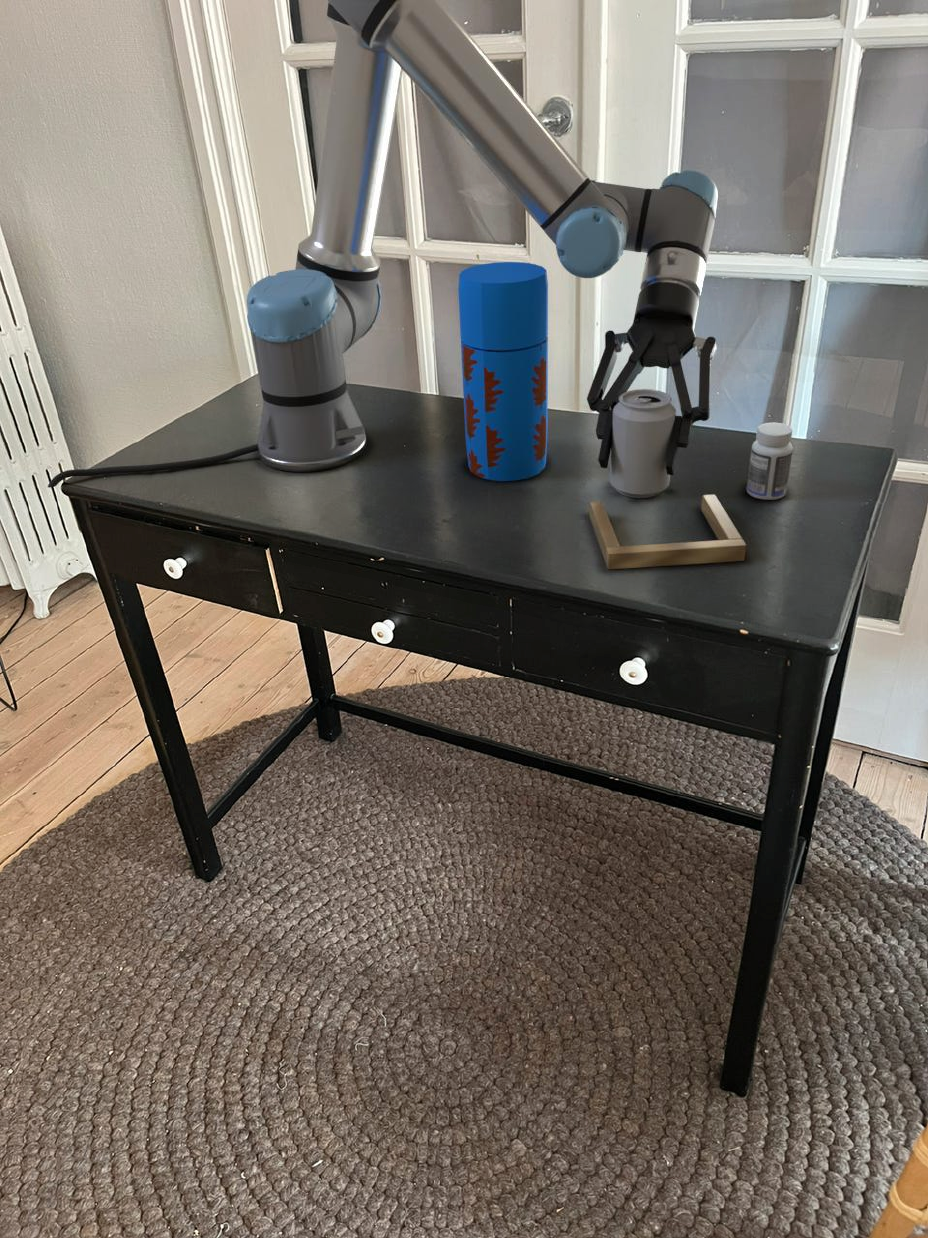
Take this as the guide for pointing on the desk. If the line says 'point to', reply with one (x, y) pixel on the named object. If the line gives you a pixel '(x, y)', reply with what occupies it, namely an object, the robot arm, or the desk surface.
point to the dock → (673, 553)
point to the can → (641, 442)
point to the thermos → (505, 368)
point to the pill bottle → (770, 461)
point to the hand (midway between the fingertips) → (635, 467)
